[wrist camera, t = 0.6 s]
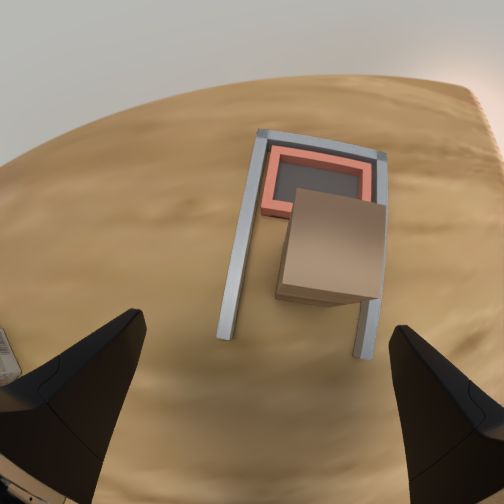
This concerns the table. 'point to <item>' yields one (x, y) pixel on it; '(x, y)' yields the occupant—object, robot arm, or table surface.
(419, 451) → the robot arm
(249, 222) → the u-shaped frame
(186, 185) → the table surface
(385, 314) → the table surface
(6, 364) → the coffee box
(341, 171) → the rectangular frame
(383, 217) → the walnut block
